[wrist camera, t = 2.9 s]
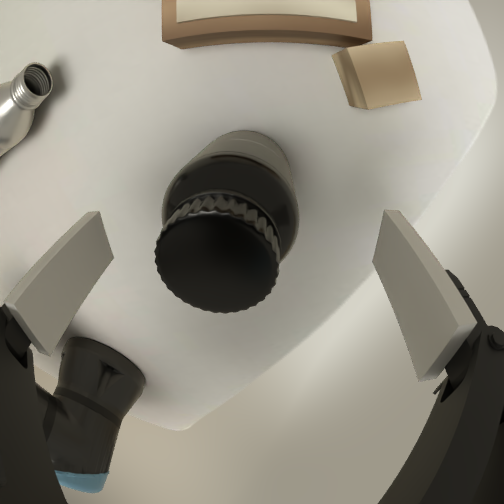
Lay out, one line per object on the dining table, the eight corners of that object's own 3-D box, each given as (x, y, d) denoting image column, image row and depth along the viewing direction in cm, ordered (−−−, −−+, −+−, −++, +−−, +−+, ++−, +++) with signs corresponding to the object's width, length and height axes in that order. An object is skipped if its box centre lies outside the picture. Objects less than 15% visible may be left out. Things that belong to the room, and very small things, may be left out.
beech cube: (395, 96, 16) (421, 99, 12) (349, 105, 17) (368, 109, 13) (379, 47, 14) (403, 40, 10) (331, 55, 15) (346, 47, 11)
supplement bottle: (277, 118, 18) (291, 156, 8) (297, 203, 21) (321, 318, 11) (186, 143, 19) (102, 212, 9) (214, 221, 22) (175, 337, 12)
